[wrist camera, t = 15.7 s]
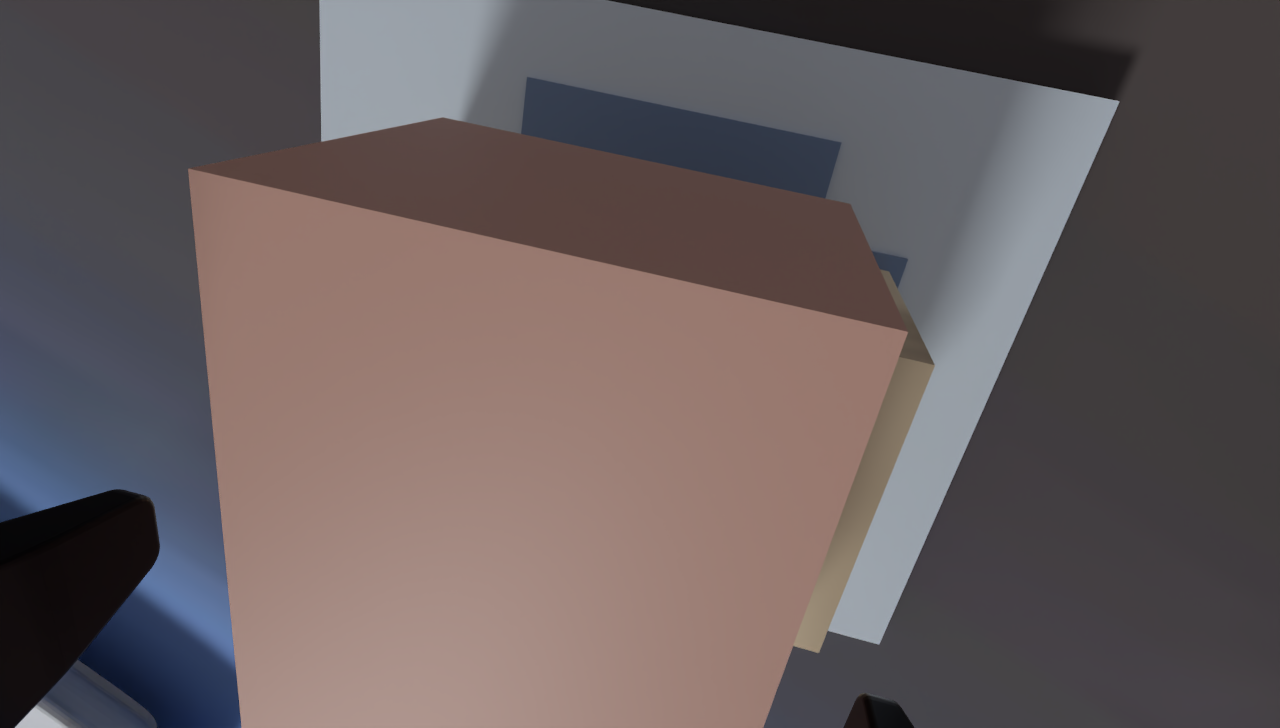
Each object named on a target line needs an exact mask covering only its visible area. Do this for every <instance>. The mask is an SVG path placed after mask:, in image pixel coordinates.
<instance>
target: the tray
mask: <svg viewBox="0 0 1280 728" xmlns="http://www.w3.org/2000/svg"><path fill="white" fill-rule="evenodd" d="M15 728H157V724H156V721H155V719H154V718H153V716H152V715H151V714H150V713H149V712H148V711H147V710H146V709H145V708H144V707H143V706H141V705H140V704H139V703H137V702H136V701H135V700H133V699H132V698H131V697H129V696H128V695H127V694H125V693H124V692H123V691H121V690H120V689H118V688H117V687H116V686H114V685H113V684H111V683H110V682H109V681H107V680H106V679H104V678H103V677H102V676H100V675H99V674H97V673H96V672H94V671H93V670H92V669H90V668H89V667H87V666H86V665H85V664H83V663H82V662H80V661H79V660H77V661H76V662H75V663H74V665H73V666H72V667H71V668H70V669H69V671H68V672H67V673H66V674H65V675H64V676H63V677H62V678H61V679H60V681H59V682H58V683H57V684H56V685H55V686H54V687H53V688H52V689H51V690H50V691H49V692H48V693H47V695H46V696H45V697H44V698H43V699H42V700H41V701H40V702H39V703H38V704H37V705H36V706H35V707H34V708H33V709H32V710H31V711H30V712H29V713H28V714H27V715H26V717H25V718H24V719H23V720H22V721H21V722H20V723H19V724H18V725H17V726H16V727H15Z"/></svg>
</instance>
